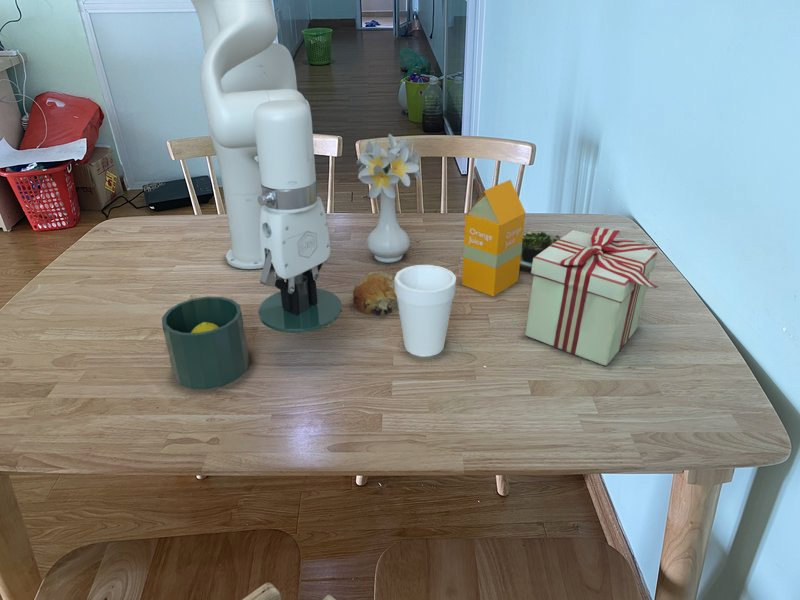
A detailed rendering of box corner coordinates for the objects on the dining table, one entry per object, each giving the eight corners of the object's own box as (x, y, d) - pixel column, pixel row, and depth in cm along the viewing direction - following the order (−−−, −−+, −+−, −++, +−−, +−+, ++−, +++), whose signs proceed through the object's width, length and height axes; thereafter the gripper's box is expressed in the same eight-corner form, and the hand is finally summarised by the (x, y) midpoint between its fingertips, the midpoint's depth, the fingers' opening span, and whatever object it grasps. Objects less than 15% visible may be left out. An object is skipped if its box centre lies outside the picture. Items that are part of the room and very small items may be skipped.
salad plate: (483, 240, 137) (484, 222, 135) (556, 233, 141) (558, 215, 138) (515, 278, 121) (517, 257, 119) (597, 269, 124) (600, 249, 122)
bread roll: (410, 317, 115) (416, 275, 114) (393, 321, 105) (400, 275, 104) (362, 309, 117) (367, 268, 117) (341, 312, 108) (347, 267, 107)
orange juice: (461, 284, 119) (465, 186, 109) (486, 269, 124) (493, 175, 115) (494, 296, 114) (502, 195, 104) (519, 281, 120) (529, 183, 110)
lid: (311, 285, 102) (308, 252, 99) (358, 315, 94) (357, 280, 90) (243, 312, 94) (238, 277, 91) (288, 346, 86) (284, 309, 83)
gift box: (633, 376, 92) (656, 275, 83) (520, 341, 101) (530, 246, 92) (658, 327, 104) (680, 235, 96) (556, 299, 113) (568, 212, 105)
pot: (227, 342, 101) (218, 289, 96) (262, 371, 93) (254, 315, 89) (162, 368, 94) (149, 313, 89) (194, 402, 87) (182, 344, 82)
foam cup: (412, 371, 93) (412, 297, 87) (385, 342, 100) (384, 272, 94) (464, 354, 97) (467, 283, 91) (434, 328, 104) (436, 260, 98)
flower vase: (359, 278, 121) (354, 155, 109) (360, 241, 137) (356, 130, 125) (423, 276, 122) (426, 154, 109) (417, 240, 138) (419, 130, 126)
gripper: (262, 217, 77) (277, 338, 86) (349, 184, 88) (353, 293, 97) (225, 204, 81) (242, 321, 90) (312, 173, 92) (320, 280, 101)
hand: (300, 305), depth 93 cm, fingers closed on lid, 3 cm apart
